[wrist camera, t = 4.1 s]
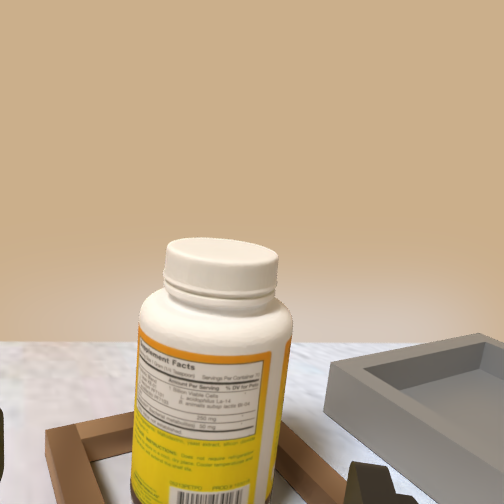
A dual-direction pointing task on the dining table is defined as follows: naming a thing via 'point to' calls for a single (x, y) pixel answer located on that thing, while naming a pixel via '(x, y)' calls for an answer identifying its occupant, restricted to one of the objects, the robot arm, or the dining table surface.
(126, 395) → the dining table surface
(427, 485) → the tray
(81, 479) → the holder frame
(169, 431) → the supplement bottle
